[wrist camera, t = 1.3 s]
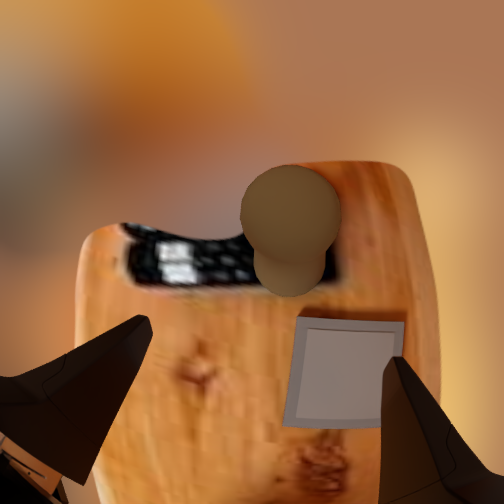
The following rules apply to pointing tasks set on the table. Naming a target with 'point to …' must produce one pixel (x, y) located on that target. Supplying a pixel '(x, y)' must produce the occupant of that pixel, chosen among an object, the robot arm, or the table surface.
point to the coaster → (339, 372)
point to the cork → (290, 227)
